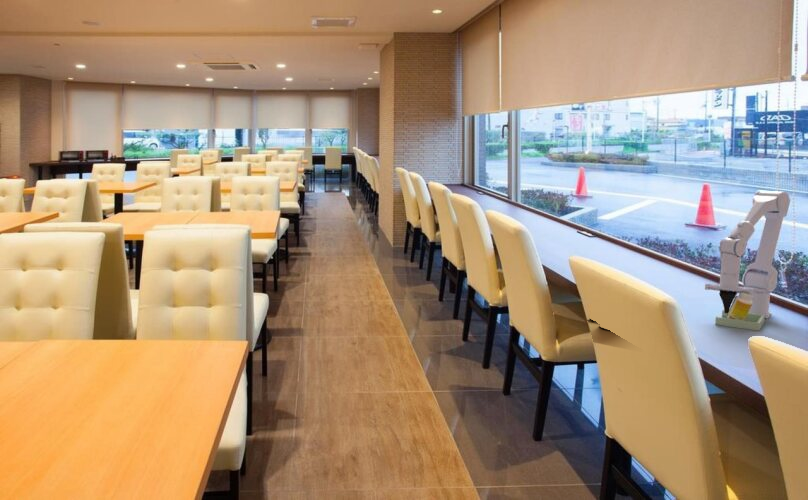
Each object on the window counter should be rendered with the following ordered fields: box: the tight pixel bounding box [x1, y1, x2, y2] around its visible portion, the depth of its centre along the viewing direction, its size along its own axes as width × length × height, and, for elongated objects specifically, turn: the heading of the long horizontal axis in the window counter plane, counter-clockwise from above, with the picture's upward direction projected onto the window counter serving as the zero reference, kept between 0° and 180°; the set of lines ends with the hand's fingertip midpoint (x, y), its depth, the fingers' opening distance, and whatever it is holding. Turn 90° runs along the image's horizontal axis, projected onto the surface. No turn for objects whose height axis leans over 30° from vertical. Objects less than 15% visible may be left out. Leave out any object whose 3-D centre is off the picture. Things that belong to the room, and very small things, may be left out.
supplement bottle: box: [727, 291, 753, 321], centre depth 219 cm, size 6×6×10 cm
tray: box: [714, 309, 766, 332], centre depth 220 cm, size 13×13×2 cm
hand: (726, 312), depth 222 cm, fingers closed
